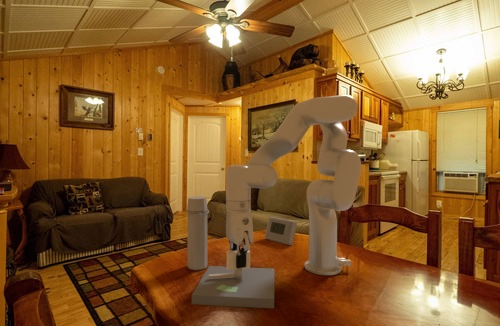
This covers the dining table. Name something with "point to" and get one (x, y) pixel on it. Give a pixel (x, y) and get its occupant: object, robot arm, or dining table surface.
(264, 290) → the grey square board
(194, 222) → the water bottle
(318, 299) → the dining table surface
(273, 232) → the digital clock
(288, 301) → the dining table surface
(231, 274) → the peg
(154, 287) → the dining table surface
